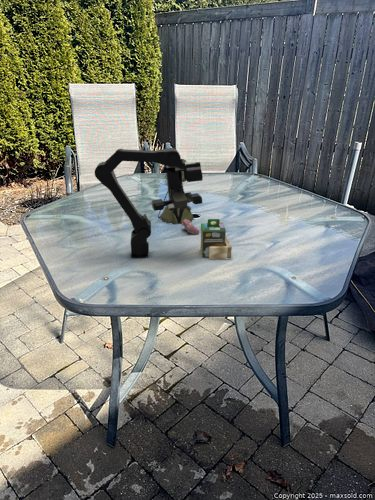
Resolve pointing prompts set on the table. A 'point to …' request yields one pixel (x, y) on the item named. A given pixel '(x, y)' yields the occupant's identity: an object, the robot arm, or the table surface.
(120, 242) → the table surface
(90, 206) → the table surface
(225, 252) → the wooden square frame
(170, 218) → the lantern
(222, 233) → the chalk box
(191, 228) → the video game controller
